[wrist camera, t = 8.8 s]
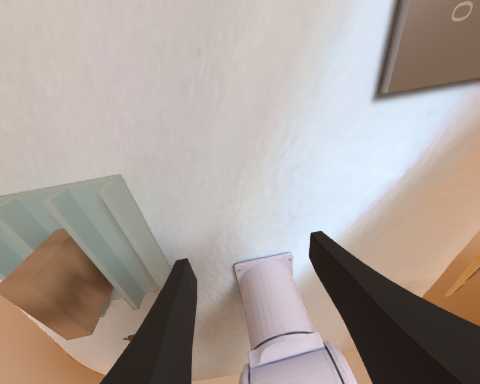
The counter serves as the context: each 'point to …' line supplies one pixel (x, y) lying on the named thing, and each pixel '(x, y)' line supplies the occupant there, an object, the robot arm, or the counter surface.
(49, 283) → the tan wooden slab
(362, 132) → the counter surface
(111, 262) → the notched rack
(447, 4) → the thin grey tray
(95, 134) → the counter surface
